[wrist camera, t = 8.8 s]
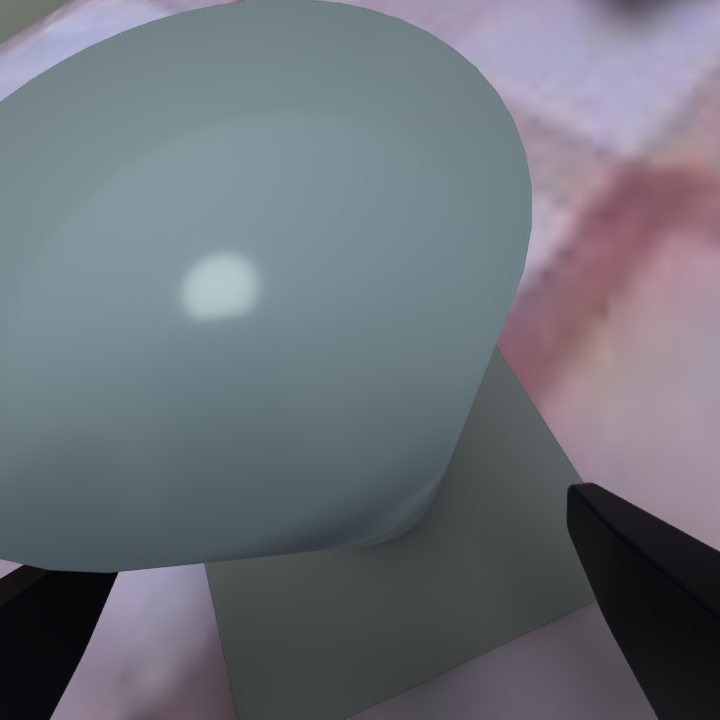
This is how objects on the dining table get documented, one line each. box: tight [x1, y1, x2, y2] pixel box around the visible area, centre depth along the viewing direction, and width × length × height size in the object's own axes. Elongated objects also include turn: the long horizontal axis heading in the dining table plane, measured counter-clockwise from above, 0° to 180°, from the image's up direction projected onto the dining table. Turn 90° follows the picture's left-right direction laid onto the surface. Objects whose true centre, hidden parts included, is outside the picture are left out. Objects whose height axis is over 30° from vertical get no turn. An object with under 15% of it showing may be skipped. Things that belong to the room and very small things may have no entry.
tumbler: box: [0, 0, 532, 573], centre depth 10 cm, size 6×6×14 cm
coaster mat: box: [204, 346, 596, 720], centre depth 16 cm, size 14×14×1 cm
